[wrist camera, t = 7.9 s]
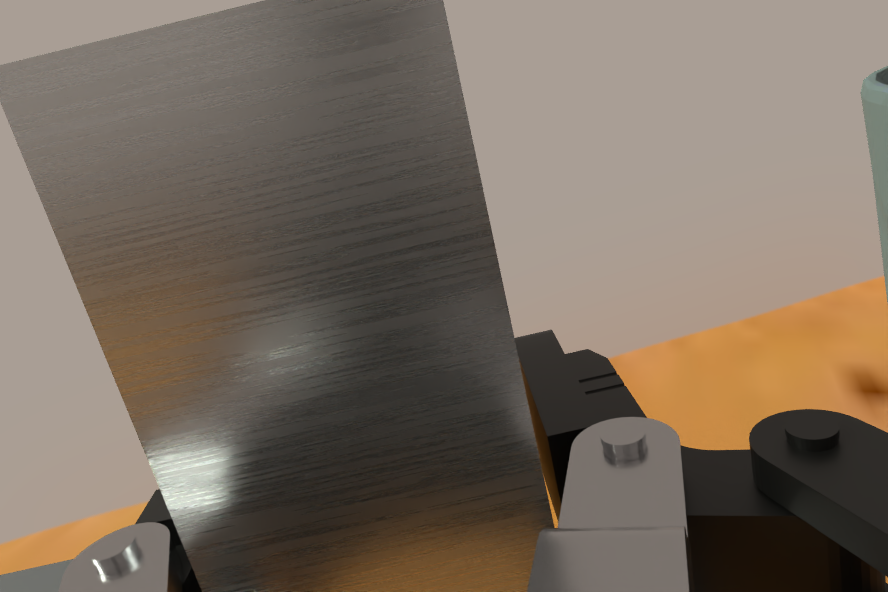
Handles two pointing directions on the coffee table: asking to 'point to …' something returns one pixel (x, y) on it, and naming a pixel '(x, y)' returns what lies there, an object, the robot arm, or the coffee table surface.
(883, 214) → the green embossed pot
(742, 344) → the coffee table surface
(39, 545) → the coffee table surface
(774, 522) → the robot arm
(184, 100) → the square bit
